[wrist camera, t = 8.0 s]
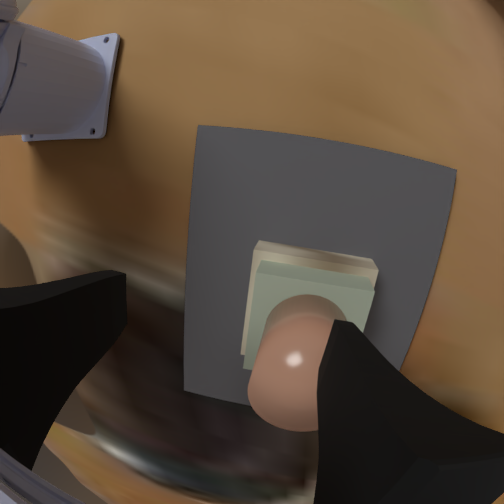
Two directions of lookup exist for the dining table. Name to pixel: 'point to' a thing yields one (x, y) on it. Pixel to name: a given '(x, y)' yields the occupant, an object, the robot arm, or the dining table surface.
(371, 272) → the birch slab
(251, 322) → the sage slab
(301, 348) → the rounded pink dome
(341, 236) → the charcoal mat
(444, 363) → the dining table surface
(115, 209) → the dining table surface
